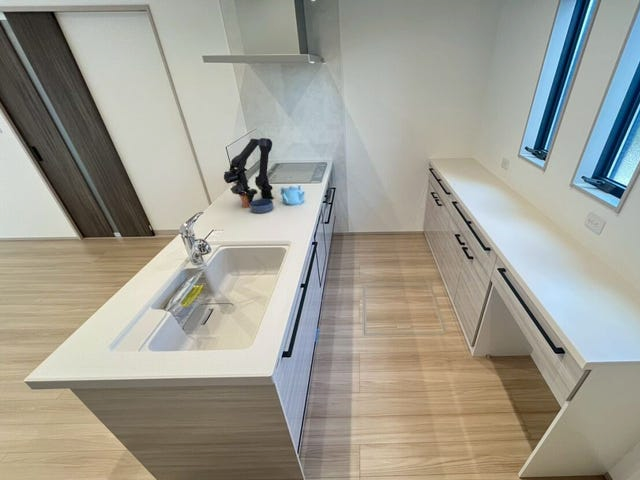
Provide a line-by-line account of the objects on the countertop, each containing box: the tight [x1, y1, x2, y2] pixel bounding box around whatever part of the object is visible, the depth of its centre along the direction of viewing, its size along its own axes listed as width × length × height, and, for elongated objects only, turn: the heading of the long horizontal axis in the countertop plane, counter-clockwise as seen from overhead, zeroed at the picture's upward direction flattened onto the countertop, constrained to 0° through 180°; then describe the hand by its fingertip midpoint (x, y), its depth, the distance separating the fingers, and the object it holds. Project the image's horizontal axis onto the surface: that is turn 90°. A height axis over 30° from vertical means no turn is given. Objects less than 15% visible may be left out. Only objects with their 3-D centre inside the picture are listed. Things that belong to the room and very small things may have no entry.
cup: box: [239, 192, 250, 208], centre depth 203 cm, size 6×6×8 cm
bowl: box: [249, 198, 274, 214], centre depth 197 cm, size 14×14×5 cm
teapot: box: [280, 185, 306, 206], centre depth 207 cm, size 15×15×11 cm
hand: (247, 203), depth 204 cm, fingers closed on cup, 6 cm apart
